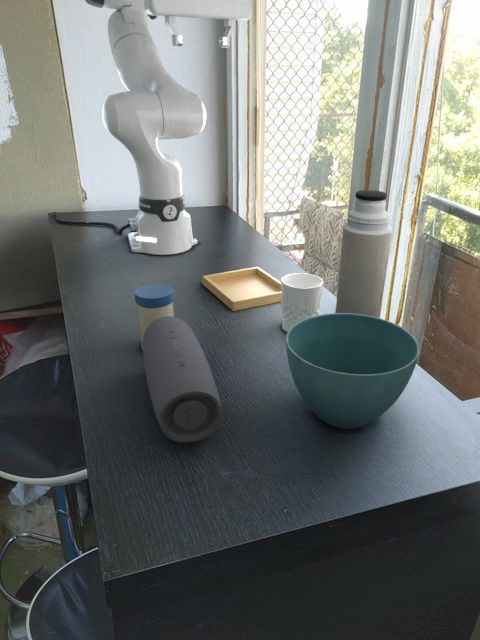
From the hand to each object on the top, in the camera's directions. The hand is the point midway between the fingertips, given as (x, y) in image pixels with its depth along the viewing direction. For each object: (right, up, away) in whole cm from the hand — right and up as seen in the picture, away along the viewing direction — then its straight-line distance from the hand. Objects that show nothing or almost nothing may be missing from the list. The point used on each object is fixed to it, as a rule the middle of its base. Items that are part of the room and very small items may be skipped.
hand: (201, 47), depth 98 cm
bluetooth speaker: (-1, -65, -19) cm, 68 cm away
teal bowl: (+24, -67, -20) cm, 73 cm away
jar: (-7, -56, -3) cm, 57 cm away
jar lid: (-7, -47, -8) cm, 48 cm away
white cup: (+19, -53, +5) cm, 56 cm away
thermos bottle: (+28, -57, -2) cm, 63 cm away
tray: (+8, -44, +20) cm, 49 cm away
